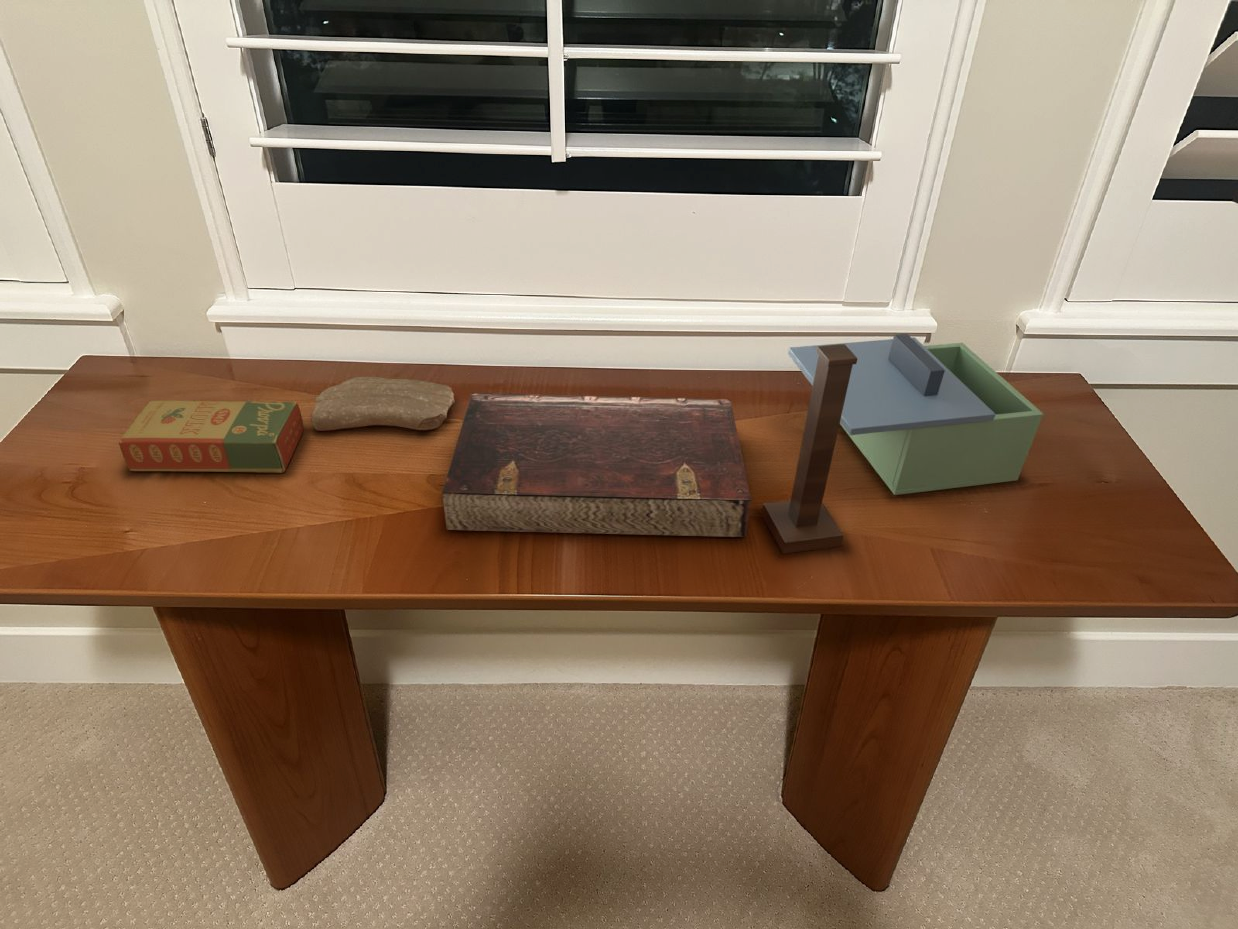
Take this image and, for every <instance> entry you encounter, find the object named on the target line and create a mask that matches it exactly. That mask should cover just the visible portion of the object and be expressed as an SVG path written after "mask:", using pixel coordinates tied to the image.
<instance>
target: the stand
mask: <svg viewBox="0 0 1238 929" xmlns="http://www.w3.org/2000/svg"><path fill="white" fill-rule="evenodd" d="M837 344H838V345H827V344H825V345H826V346H817V350H816V353H817V354H818V355H819V356H818V361H817V367H816V372H815V377H814V382H813V386H812V387H811V393H810V399H809V402H808V403H809V404H808V409H807V413H806V420H805V424H804V428H803V429H804V430H803V434H802V440H801V445H800V449H799V454H798V455H799V456H798V460H797V466H796V470H795V476H794V481H793V486H792V491H791V496H790V499H789V500H781V501H771V502H763V504H762V509H761V516H762V519H763V520H764V522H765V524H766V526H767V527H768V529H769V532H770V533H771V535H772V537H773V539H774V540H775V543H776V544H777V546H778V548H779V550H780V552H781V554H782V555H786V554H793V553H794V554H795V553H800V552H801V553H803V552H809V551H818V550H823V549H825V550H826V549H831V548H838V547H839V548H840V547H842V542H843V540H844V533H843V532H842V531H841V529H840V527H839V526H838V524H837V523H836V521H835V519H834V517H832V515H831V513H830V512H829V511H828V509H827V507H826V506H825V504H824V502H823V501H824V496H825V492H826V487H827V483H828V477H829V473H830V468H831V464H832V459H833V455H834V450H835V446H836V442H837V438H838V433H839V429H840V420H841V415H842V411H843V406H844V402H845V397H846V393H847V388H848V384H849V379H850V375H851V370H852V366H853V364H856V363H857V357H856V356H855V355H854V354H853V353H852V351H851V350H850V349H849V348H848V347H847V346H846V345H845V344H839V343H837Z"/></svg>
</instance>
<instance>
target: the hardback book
mask: <svg viewBox="0 0 1238 929" xmlns="http://www.w3.org/2000/svg"><path fill="white" fill-rule="evenodd" d="M451 457H452V458H451V461H450V464H449V467H448V471H447V474H446V477H445V481H444V485H443V488H442V491H441V495H442V504H443V511H444V519H445V525H446V526H445V528H446V530H447V531H477V532H478V531H483V532H520V533H559V534H560V533H562V534H565V533H566V534H602V535H604V534H605V535H606V534H607V535H640V536H641V535H642V536H644V535H645V536H681V537H683V536H684V537H685V536H687V537H722V538H723V537H727V538H729V537H730V538H735V537H736V538H746V536H747V529H748V523H749V516H750V510H751V503H752V498H751V493H750V487H749V483H748V478H747V474H746V473H747V472H746V469H745V464H744V458H743V454H742V448H741V443H740V440H739V433H738V429H737V424H736V419H735V414H734V410H733V405H732V400H731V399H723V398H720V399H719V398H690V397H689V398H686V397H652V396H651V397H649V396H646V397H645V396H641V397H640V396H613V395H612V396H609V395H608V396H607V395H575V394H573V395H571V394H536V393H534V394H533V393H498V392H495V393H494V392H492V393H491V392H471V394H470V398H469V400H468V404H467V408H466V411H465V414H464V417H463V420H462V424H461V427H460V431H459V434H458V437H457V441H456V444H455V447H454V451H453V453H452V456H451Z"/></svg>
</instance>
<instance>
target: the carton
mask: <svg viewBox="0 0 1238 929" xmlns="http://www.w3.org/2000/svg"><path fill="white" fill-rule="evenodd" d="M301 412H302V411H301V409H300V406H299V403H298V402H296V401H229V400H228V401H226V400H225V401H224V400H223V401H221V400H219V401H218V400H217V401H213V400H150V401H149V402H148V404H147V405H146V406H145V407H143V409H142V411H141V412H140V413H139V414H138V415H137V417H135V419H134V421H133V422H132V423H131V425H130V426H129V427H128V428H127V430H126V431H125V432H124V434H123V435H122V436H121V438H120V439H119V441H118V445H119V448H120V451H121V455H122V457H123V459H124V461H125V464H126V466H127V468H128V470H129V471H130V472H218V473H220V472H223V473H254V474H255V473H258V474H260V473H261V474H283V473H285V471H286V470H287V467H288V465H289V463H290V461H291V459H292V457H293V454H294V452H295V450H296V448H297V446H298V444H299V441H300V439H301V437H302V435H303V433H304V429H305V426H304V420H303V417H302V416H303V415H302V413H301Z"/></svg>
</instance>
